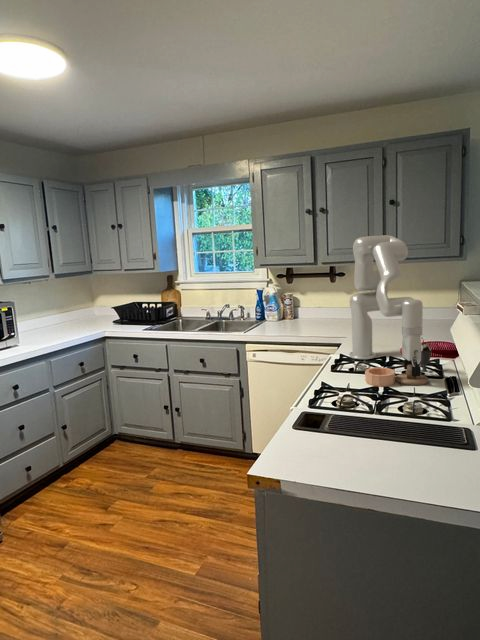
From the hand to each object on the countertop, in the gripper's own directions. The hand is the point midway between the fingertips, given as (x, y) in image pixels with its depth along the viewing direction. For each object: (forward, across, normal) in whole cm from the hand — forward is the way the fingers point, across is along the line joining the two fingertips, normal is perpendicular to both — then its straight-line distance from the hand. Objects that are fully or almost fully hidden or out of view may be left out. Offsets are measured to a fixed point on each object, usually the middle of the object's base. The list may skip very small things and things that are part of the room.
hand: (412, 372), depth 178 cm
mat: (+4, 0, 0) cm, 4 cm away
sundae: (+4, -12, +9) cm, 16 cm away
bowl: (+4, 0, -13) cm, 13 cm away
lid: (+4, 0, 0) cm, 4 cm away
